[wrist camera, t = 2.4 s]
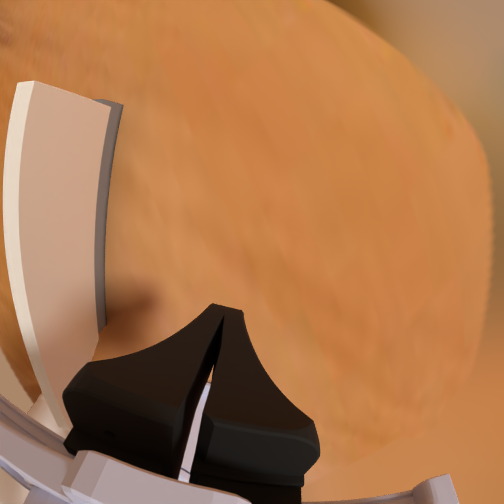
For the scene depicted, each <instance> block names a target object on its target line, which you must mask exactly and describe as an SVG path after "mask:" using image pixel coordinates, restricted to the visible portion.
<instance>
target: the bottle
mask: <svg viewBox="0 0 504 504" xmlns="http://www.w3.org/2000/svg"><path fill="white" fill-rule="evenodd" d="M27 415H29V416H30V417H32V418H33V419H34V420H36V421H37V422H39V423H40V424H42V425H44V426H45V427H47V428H48V429H50V430H52V431H53V432H55V433H57V434H58V435H60V436H62V437H63V438H65V439H66V437H67V436H68V434H69V432H70V431H71V430H70V431H69V430H66V429H62V428H59V427H58V425H57V423H56V421H55V419H54V417H53V415H52V413H51V411H50V409H49V407H48V405H47V402H46V400H45V398H44V396H43V393H41V394H40V396H39V397H38V398H37V401H36V402H35V403H34V405H33V406H32V407H31V409H30V410H29V411H28V413H27ZM72 428H73V425H72V426H71V429H72ZM29 492H30V491H29V490H27V489H26V488H25V487H23V486H22V485H21V484H19V483H18V482H17V481H16V480H14V479H13V478H12V477H11V476H10V475H8V474H7V473H6V472H5V471H4V470H2V469H1V468H0V504H23V503H24V501H25V499H26V497H27V495H28V493H29Z"/></svg>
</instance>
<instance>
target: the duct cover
mask: <svg viewBox="0 0 504 504" xmlns="http://www.w3.org/2000/svg"><path fill="white" fill-rule="evenodd" d="M110 110H111V107H110V106H107V105H104V104H102V103H99V102H96V101H94V100H91V99H88V98H86V97H83V96H80V95H77V94H74V93H72V92H69V91H66V90H63V89H60V88H57V87H54V86H50V85H47V84H44V83H41V82H38V81H27V82H19V83H18V84H17V88H16V92H15V96H14V101H13V105H12V110H11V116H10V121H9V128H8V134H7V142H6V151H5V162H4V177H3V223H4V238H5V249H6V258H7V266H8V273H9V280H10V285H11V291H12V296H13V301H14V306H15V310H16V314H17V318H18V322H19V326H20V330H21V334H22V337H23V340H24V344H25V347H26V350H27V353H28V356H29V359H30V362H31V365H32V368H33V371H34V373H35V376H36V378H37V381H38V384H39V386H40V388H41V391H42V393H43V396H44V398H45V400H46V402H47V405H48V407H49V409H50V411H51V413H52V415H53V417H54V419H55V421H56V423H57V425H58V427H59V428H62V429H66V430H69V431H70V430H71V426H72V423H71V421H70V418H69V416H68V414H67V411H66V409H65V406H64V403H63V399H62V394H63V391H64V389H65V388H66V387H67V385H68V384H69V383H70V381H71V380H72V379H73V377H74V376H75V375H76V374H77V373H78V371H79V370H80V369H81V368H82V367H83V366H84V365H85V364H86V363H87V362H91V360H92V357H93V355H94V352H95V349H96V346H97V344H98V341H99V336H98V326H97V315H96V300H95V275H94V243H95V218H96V204H97V192H98V182H99V174H100V166H101V159H102V152H103V146H104V140H105V134H106V129H107V124H108V119H109V114H110Z"/></svg>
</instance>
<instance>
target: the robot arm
mask: <svg viewBox="0 0 504 504" xmlns="http://www.w3.org/2000/svg"><path fill="white" fill-rule="evenodd" d="M213 365H214V367H213ZM212 368H213V374H212V382H211V384H210V383H207V380H208V378H209V375H210V373H211V370H212ZM62 399H63V403H64V406H65V409H66V411H67V414H68V416H69V418H70V421H71V423H72V425H73V428H72V429H71V431H70V432H69V434H68V436H67V437H66V439H65V438H63V437H62V436H60V435H58V434H57V433H55V432H53V431H52V430H50V429H48V428H47V427H45V426H44V425H42V424H40V423H39V422H37V421H36V420H34V419H33V418H32V417H30V416H29V415H27V414H26V413H24V412H23V411H22V410H20V409H19V408H17V407H16V406H15V405H14V404H12V403H11V402H9V401H8V400H7V399H6V398H5V397H3V396H2V395H1V394H0V468H1V469H2V470H4V471H5V472H6V473H7V474H8V475H10V476H11V477H12V478H13V479H14V480H16V481H17V482H18V483H19V484H21V485H22V486H23V487H25V488H26V489H27V490H29V491H30V492H29V493H28V495H27V497H26V499H25V501H24V503H23V504H459V501H458V498H457V495H456V492H455V489H454V486H453V484H452V481H451V478H450V475H449V474H444V475H440V476H437V477H433V478H430V479H427V480H425V481H423V482H421V483H420V484H418V485H417V486H416V487H414V488H413V489H412V490H409V491H405V492H400V493H395V494H390V495H384V496H378V497H371V498H363V499H354V500H342V501H325V502H301V487H303V486H304V474H305V473H306V472H307V471H308V470H309V469H310V468H311V467H312V466H313V465H314V464H315V463H316V462H317V460H318V458H319V457H320V443H319V438H318V435H317V431H316V428H315V424H314V421H313V420H312V419H310V418H309V417H308V416H307V415H305V414H304V413H303V412H302V411H301V410H299V409H298V408H297V407H296V406H295V405H294V404H292V403H291V402H290V401H289V400H288V399H287V398H286V397H285V395H284V394H283V393H282V392H281V391H280V390H279V389H278V387H277V386H276V385H275V384H274V382H273V381H272V380H271V378H270V377H269V375H268V374H267V372H266V371H265V369H264V368H263V366H262V364H261V362H260V361H259V359H258V357H257V355H256V353H255V350H254V348H253V346H252V343H251V341H250V338H249V335H248V332H247V329H246V325H245V321H244V313H243V312H242V310H238V309H234V308H230V307H226V306H222V305H218V304H214V303H212V304H211V305H209V306H208V307H207V308H206V309H205V310H204V311H203V312H202V313H201V314H200V315H199V316H198V317H197V318H195V319H194V320H193V321H192V322H191V323H189V324H188V325H187V326H185V327H184V328H183V329H181V330H180V331H178V332H177V333H175V334H174V335H172V336H170V337H169V338H167V339H165V340H163V341H161V342H160V343H158V344H156V345H153V346H151V347H149V348H146V349H144V350H141V351H139V352H136V353H132V354H129V355H125V356H121V357H117V358H113V359H107V360H100V361H94V362H87V363H86V364H85V365H84V366H83V367H82V368H81V369H80V370H79V371H78V373H77V374H76V375H75V376H74V377H73V379H72V380H71V381H70V383H69V384H68V385H67V387H66V388H65V389H64V391H63V394H62Z"/></svg>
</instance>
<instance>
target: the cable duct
mask: <svg viewBox="0 0 504 504" xmlns="http://www.w3.org/2000/svg"><path fill="white" fill-rule="evenodd" d="M94 101H96V102H99V103H102V104H104V105H107V106H110V107H111V110H110V114H109V119H108V124H107V129H106V134H105V140H104V146H103V152H102V159H101V166H100V174H99V182H98V192H97V204H96V218H95V243H94V275H95V300H96V315H97V326H98V334H99V332H100V331H101V330H102V329H103V328H104V327H105V326H106V308H105V235H106V218H107V206H108V195H109V186H110V178H111V170H112V163H113V156H114V150H115V144H116V139H117V133H118V128H119V123H120V118H121V114H122V109H123V105H122V104H119V103H115V102H111V101H108V100H104V99H97V100H94Z"/></svg>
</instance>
